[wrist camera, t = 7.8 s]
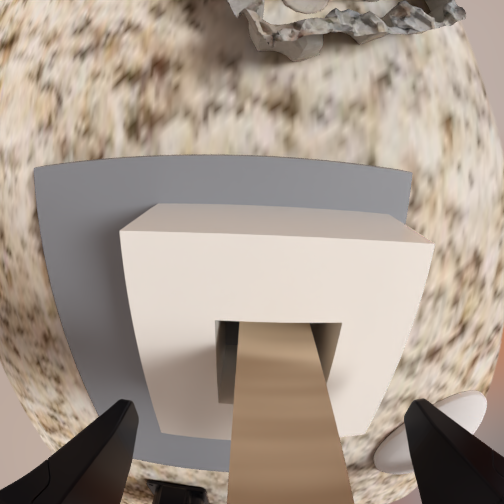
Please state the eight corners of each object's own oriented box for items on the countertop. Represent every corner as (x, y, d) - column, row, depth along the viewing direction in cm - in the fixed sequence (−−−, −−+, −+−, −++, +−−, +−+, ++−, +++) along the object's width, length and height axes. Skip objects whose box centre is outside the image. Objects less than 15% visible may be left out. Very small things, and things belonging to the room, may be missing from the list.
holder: (347, 382, 16) (364, 434, 12) (176, 379, 16) (161, 432, 12) (388, 214, 12) (435, 244, 8) (158, 203, 12) (119, 230, 8)
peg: (292, 334, 14) (327, 564, 4) (239, 331, 14) (224, 569, 4) (299, 288, 13) (363, 548, 3) (242, 285, 13) (223, 560, 3)
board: (321, 461, 21) (323, 470, 20) (123, 447, 21) (120, 455, 20) (402, 170, 12) (412, 172, 11) (45, 165, 12) (33, 168, 11)
